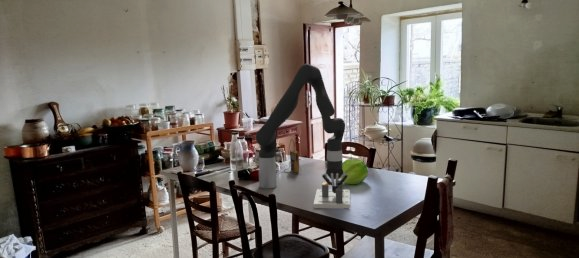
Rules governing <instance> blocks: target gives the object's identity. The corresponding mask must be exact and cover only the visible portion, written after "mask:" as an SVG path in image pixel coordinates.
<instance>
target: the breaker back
mask: <svg viewBox="0 0 579 258" xmlns="http://www.w3.org/2000/svg"><path fill="white" fill-rule="evenodd" d="M341 179H342V178H339V179H338V182H340V180H341ZM338 188H342V192H343V190H344V189H343V188H344V183H342V184H341V185H339V186H338Z"/></svg>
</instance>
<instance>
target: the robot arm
mask: <svg viewBox="0 0 579 258" xmlns="http://www.w3.org/2000/svg"><path fill="white" fill-rule="evenodd" d="M324 83H325V82H324V78H323V75H322V72H321V70H320V68H318V67H317V66H314V65H312V64H309V63H305V64H302V65H301V66H300V67H299V69H298V70H297V72H296V73H295V75H294V77H293V79H292V81H291V82H290V84H289V86H288V88H287V89H286V90H285V92H284V94H283V95H282V97H281V98H280V100H279V101H278V103H276V106H274V109H273V110H272V112H271V114H270V115H269V117H268V119H267V120H266V122H264V123H263V125H262V126H261V127H260V129H259V130H258V131H257V132H256V135H255V142H256V143H257V144H258V145H259V146H260V149H259V150H258V162H259V163H258V166H259V169H258V186H259V187H258V188H260V189H268V190H269V189H273V188H276V187H277V185H278V184H277V181H278V180H277V162H276V161H277V159H276V153H277V142H278V141H277V130H279V128H280V127H281V126H282V125H283V124H284V123H285V122H286V121H287V120H288V119H289V118H290V117H291V115H292V114H293V113H294V111H295V110H296V108H297V106H298V104H299V97H300V93H301V91H302V90H303V87H304V86H305V85H306V84H310V86H311V87H312V89H313V91H314V94H315V104H316V106H317V110H318V111H319V112H320V116H321V121H322V127H323V130H324V131H325V132H326V133H327V134H328V135H329V134H333V135H332V136H331V137H329V138H328V139H327V141H326V146H327V147H326V148H327V151H326V171H325V172H324V173H322V174H321V178H322V179H324V180H325V181H324V182H327V183H328V184H329V186H331V189H332V192H334V193H336V188H338V186H339V185H341V184H342V183H343V182H344V181H345V179H346V178H347V174H345V173H344V172H343V169H342V163H343V146H342V145H343V144H342V143H343V139H344V135H345V130H346V123H345V120H344V119H343V118H341V117H332V116H334V115H335V113H336V110H335V107H334V106H333V103H332V102H331V100H330V97H329V95H328V93H327V89H326V87H325V84H324ZM331 117H332V118H331ZM342 174H343V176H342ZM341 176H342V177H343V178H342V179H341V180H340V182H338V179H339V178H340V177H341ZM328 177H329V178H328ZM343 184H344V183H343Z"/></svg>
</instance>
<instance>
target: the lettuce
mask: <svg viewBox="0 0 579 258" xmlns="http://www.w3.org/2000/svg"><path fill="white" fill-rule="evenodd" d="M342 169H343V172H344V173H345V174H347V178H346V179H345V181H344V182H343V184H347V185H348V184H349V185H356V184H357V185H358V184H360V183H362V182H363V181H365V179H367V176H368V175H369V171H368V166H367V164H366V163H365V162H364V161H363V160H361V159H359V158H348V159H345V160H344V161H342ZM342 176H343V174H342ZM342 176H341V177H340V178H343V177H342Z"/></svg>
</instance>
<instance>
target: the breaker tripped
mask: <svg viewBox="0 0 579 258" xmlns="http://www.w3.org/2000/svg"><path fill="white" fill-rule="evenodd" d="M329 187H330V185H329V184H328V183H327V182H326V181H323V182H322V183H321V189H322V197H328V196H329Z"/></svg>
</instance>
